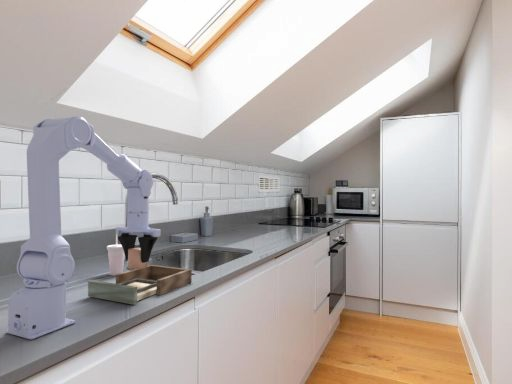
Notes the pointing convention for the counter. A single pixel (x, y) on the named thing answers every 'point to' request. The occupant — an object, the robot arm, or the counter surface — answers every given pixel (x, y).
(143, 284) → the tray
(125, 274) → the dock
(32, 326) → the robot arm
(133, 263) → the peach rounded cylinder
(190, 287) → the counter surface
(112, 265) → the smoothie
